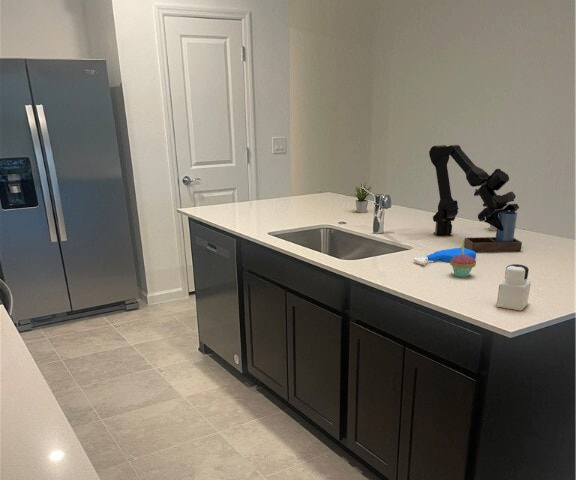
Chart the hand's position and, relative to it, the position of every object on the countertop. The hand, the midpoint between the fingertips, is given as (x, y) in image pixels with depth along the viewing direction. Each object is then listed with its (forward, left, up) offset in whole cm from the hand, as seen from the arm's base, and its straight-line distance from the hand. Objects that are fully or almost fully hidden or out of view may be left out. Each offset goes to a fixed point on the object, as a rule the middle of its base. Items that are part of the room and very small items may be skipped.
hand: (508, 229), depth 220 cm
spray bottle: (-30, -15, -8) cm, 34 cm away
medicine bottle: (-24, -67, -8) cm, 71 cm away
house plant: (-46, +92, -8) cm, 103 cm away
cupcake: (-29, -35, -8) cm, 46 cm away
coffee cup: (+10, +38, -8) cm, 40 cm away
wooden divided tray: (-6, +1, -8) cm, 10 cm away
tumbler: (-1, +1, -7) cm, 7 cm away
